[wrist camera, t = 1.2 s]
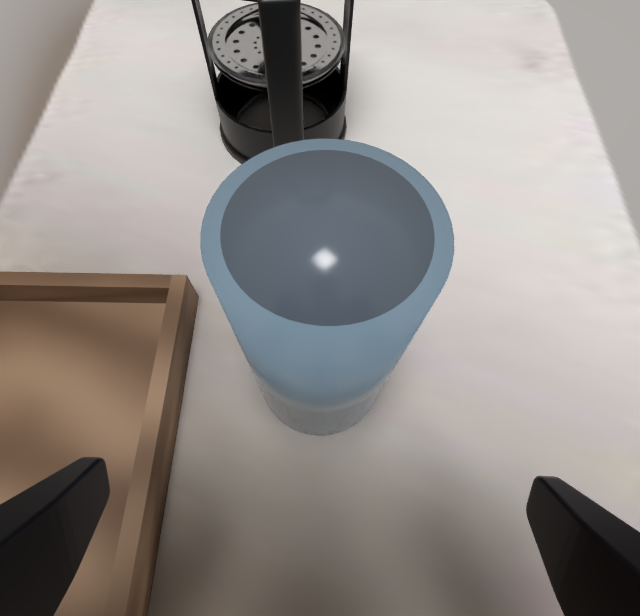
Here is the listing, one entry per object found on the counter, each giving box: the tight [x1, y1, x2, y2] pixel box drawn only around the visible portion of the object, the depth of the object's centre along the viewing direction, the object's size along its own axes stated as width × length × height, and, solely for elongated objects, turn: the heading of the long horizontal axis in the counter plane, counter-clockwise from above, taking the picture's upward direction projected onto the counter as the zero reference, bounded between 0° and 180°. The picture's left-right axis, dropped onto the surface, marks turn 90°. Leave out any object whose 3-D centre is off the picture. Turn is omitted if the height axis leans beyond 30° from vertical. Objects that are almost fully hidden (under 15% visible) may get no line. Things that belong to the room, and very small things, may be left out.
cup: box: [201, 139, 454, 435], centre depth 16 cm, size 6×6×13 cm
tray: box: [0, 272, 199, 616], centre depth 18 cm, size 20×12×2 cm, turn 179°
